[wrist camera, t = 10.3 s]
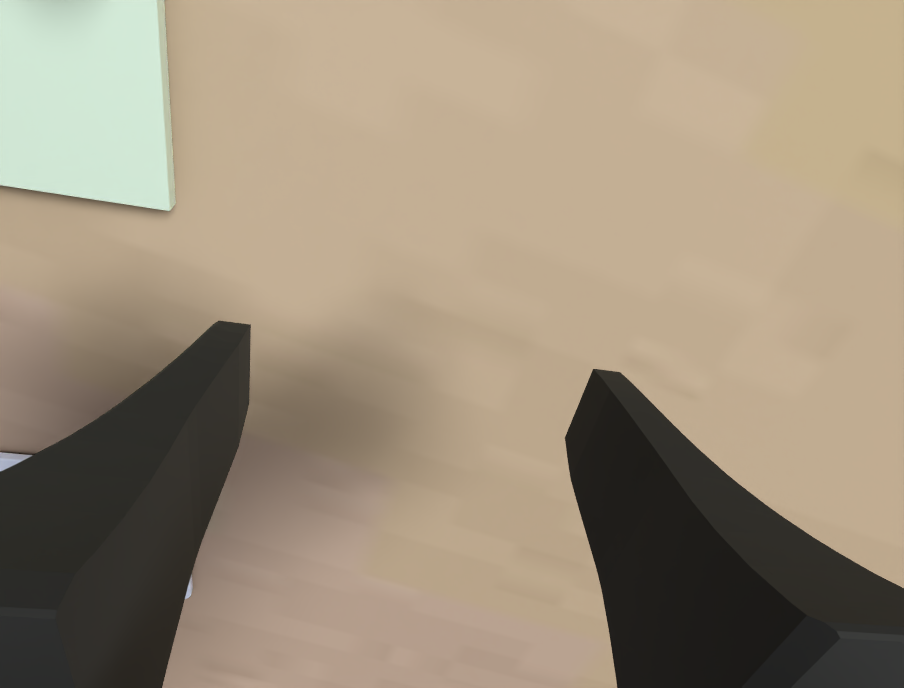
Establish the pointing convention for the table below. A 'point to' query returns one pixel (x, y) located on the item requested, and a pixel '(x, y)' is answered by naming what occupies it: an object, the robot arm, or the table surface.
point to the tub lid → (86, 100)
